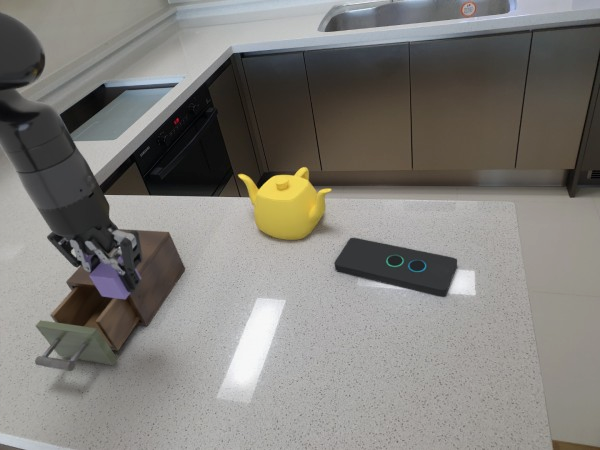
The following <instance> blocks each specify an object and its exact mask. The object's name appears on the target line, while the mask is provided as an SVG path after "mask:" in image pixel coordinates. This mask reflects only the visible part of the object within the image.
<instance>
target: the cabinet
mask: <svg viewBox="0 0 600 450" xmlns="http://www.w3.org/2000/svg"><path fill="white" fill-rule="evenodd" d="M118 230H119V231H122V232H125V233H129V232H130V231H131V230H132V229H125V228H123V229H122V228H118ZM134 230H135V231H137V232H138V234H139V239H140V245H141V251H142V257H143V261H142V262H141V263H140V264H139V265H138V266H137V268H136V269H137V271H138V273H139V275H140V277H141V280H140V281H141V283H140V285H139V286H138V287H137V289H136V290H135V291H134V292H133V293H130V294H129V296H128V297H127V298H128V299H129V301H130V303H131V304H132V306H133V308H134V310H135V311H136V313H137V315H138V317H139V318H140V320H139V321H138V323H137V324H136V326H141V327H148V326H149V325H150V323H151V322H152V321H153V319H154V317H155V316H156V314H157V313H158V311H159V310H160V308H161V307H162V305H163V304H164V302H165V301H166V299H167V297H168V296H169V295H170V293H171V292H172V290H173V289H174V287H175V286H176V284H177V283H178V281H179V279H180V278H181V276H182V275H183V273H184V272H185V270H186V266H185V264H184V263H183V260H182V258H181V256H180V253H179V251H178V249H177V246H176V244H175V242H174V239H173V238H172V235H171V233H170V231H162V230H161V231H160V230H143V229H134ZM114 249H115V247H114V248H113V249H112V251H111V252H110V253H108V255H110V254H111V253H112V252H113V250H114ZM100 261H101V262H102V260H100ZM90 274H91V273H90V272H87V271H86V270H84V268H83V266H79V267H78V268H76V270H75V271H74V273H73V274H71V275H70V276H69V278H68V279H67V280H66V281H65V284H67V286H68V288H69V290H70V292H71V291H72V290H73V289H74V287H75V286H81V287H90V288H96V286H95V285H94V283H93V281H92V280H91V278H90V277H89V275H90Z"/></svg>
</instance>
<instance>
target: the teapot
mask: <svg viewBox="0 0 600 450" xmlns="http://www.w3.org/2000/svg"><path fill="white" fill-rule="evenodd" d="M237 176H238V178H239V179H240V180H241V181H243V183H244V184H245V186H246V188H247V192H248V196H249V200H250V202H251V204H252V206H253V216H254V222H255V225H256V227H257V228H258V229H259V230H260V231H261V232H262V233H264V234H266V235H267V236H270V237H273V238H276V239H280V240H288V241H296V240H297V241H298V240H302V239H305V238H306V237H307V236H308V235H309V234H311V232H312V231H313V230H314V229H315V228H316V227H317V225H318V224H319V222H320V220H321V218H322V217H323V216H324V214H325V212H326V195H327V194H329V193H330V192H332V188H323V189H320V190H319V191H317V190H316V189H315V187H314V186H313V184H312V183H311V182H310V171H309V168H307V167H306V166H303V167H301V168H299V169H298V170H297V171H296V173H294V175H291V174H276V175H273V176H271V177H270V178H269V179H268V180H266V182H264V183H263V184H262V186H261V187H259V188H258V187H257V185H256V183H255V182H254V181H253V179H252V178H251V177H250V176H248V175H246V174H243V173H239V174H237Z"/></svg>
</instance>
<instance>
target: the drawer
mask: <svg viewBox="0 0 600 450" xmlns="http://www.w3.org/2000/svg"><path fill="white" fill-rule="evenodd" d="M49 315H50V317H51V319H52V320H53V321H48V320H42V319H41V320H39V321H38V322H37V323H36V324H35V328H36V329H37V330H38V331H39V333H40V334H41V335H42V337H43V338H44V339H45V340H46V342H47V343H48V344H49V345H50V346H49V347H48V348H47V349H46V350H45V351H44V353H43V354H42V355H38V356H37V357H36V358H35V360H34V363H35V365H36V366H40V367H46V368H51V369H56V370H62V371H67V372H72V371H73V370H75V368H76V362H77V361H78V360H82V361H87V362H93V363H98V364H104V365H105V364H106V365H111V366H114V365H115V364H116V363H117V361H118V357H117V356H116V354H115V353H114V351H119V350H120V349H121V348H122V346H123V344H124V343H125V342H126V340H127V339H128V337H129V336H130V334H131V333H132V331H133V330H134V329H135V327H136V326H137V325H136V324H137V323H138V321H139V320H140V318H139V317H138V315H137V313H136V311H135V310H134V308H133V306H132V304H131V303H130V301H129V299H128V298H126V299H118V298H110V297H103V296H101V294H100V293H99V291H98V289H97V288H90V287H81V286H75V287H74V289H73V290H72V291H71V290H70V292H69V293H68V294H67V295H66V296H65V297H64V299H63V300H62V301H61V302H60V303H59V304H58V305H57V307H56V308H55V309H54V310H53V311H52V312H51V314H49ZM53 351H54V352H56V354H57V355H58V356H59V357H64V358H70V359H69V360H67V359H61V358H56V357H50V355H51V354H52V352H53Z"/></svg>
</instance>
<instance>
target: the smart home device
mask: <svg viewBox="0 0 600 450" xmlns="http://www.w3.org/2000/svg"><path fill="white" fill-rule="evenodd" d="M333 264H334V270H335V271H337V272H339V273H342V274H347V275H350V276H355V277H358V278H364V279H367V280H371V281H375V282H379V283H383V284H388V285H392V286H396V287H400V288H404V289H409V290H413V291H417V292H421V293H425V294H430V295H433V296H436V297H437V296H438V297H446V296H447V294H448V292H449V289H450V286H451V285H452V281H453V279H454V276H455V273H456V270H457V267H458V259H457V258H455V257H452V256H447V255H443V254H437V253H432V252H428V251H422V250H418V249H413V248H408V247H403V246H397V245H393V244H389V243H384V242H377V241H373V240H368V239H363V238H358V237H350V238H349V239H348V241H347V242H346V243H345V245H344V247H343V248H342V249H341V251H340V253H339V255H338V256H337V258H335V261H334V263H333Z"/></svg>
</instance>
